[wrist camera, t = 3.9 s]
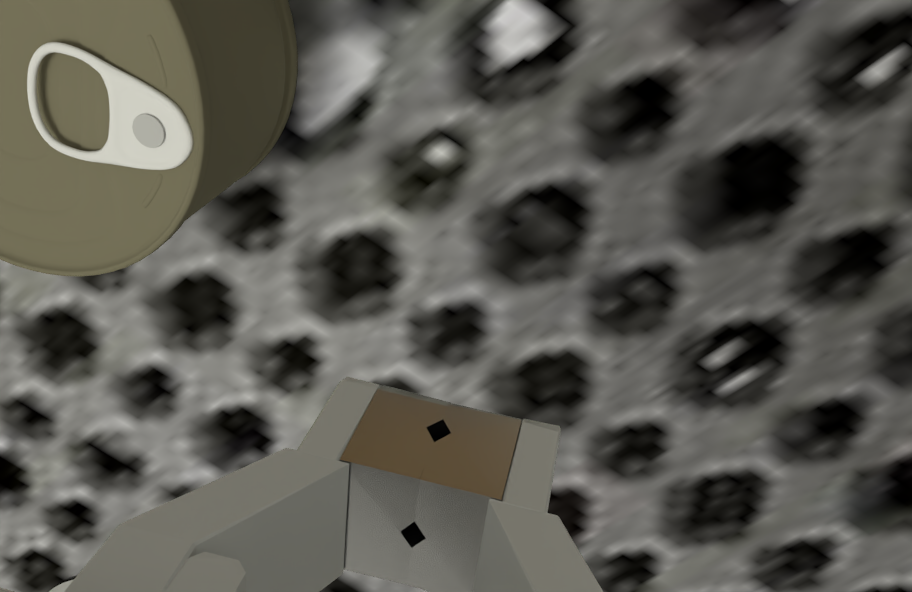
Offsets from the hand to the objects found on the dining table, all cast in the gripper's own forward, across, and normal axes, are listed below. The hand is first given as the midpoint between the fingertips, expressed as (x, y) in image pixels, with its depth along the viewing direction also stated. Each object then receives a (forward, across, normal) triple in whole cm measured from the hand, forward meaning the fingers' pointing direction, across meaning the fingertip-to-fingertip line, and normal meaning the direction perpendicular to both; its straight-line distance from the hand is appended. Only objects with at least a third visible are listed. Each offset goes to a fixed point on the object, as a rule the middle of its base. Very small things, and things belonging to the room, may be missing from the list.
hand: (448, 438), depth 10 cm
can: (+17, +15, 0) cm, 23 cm away
